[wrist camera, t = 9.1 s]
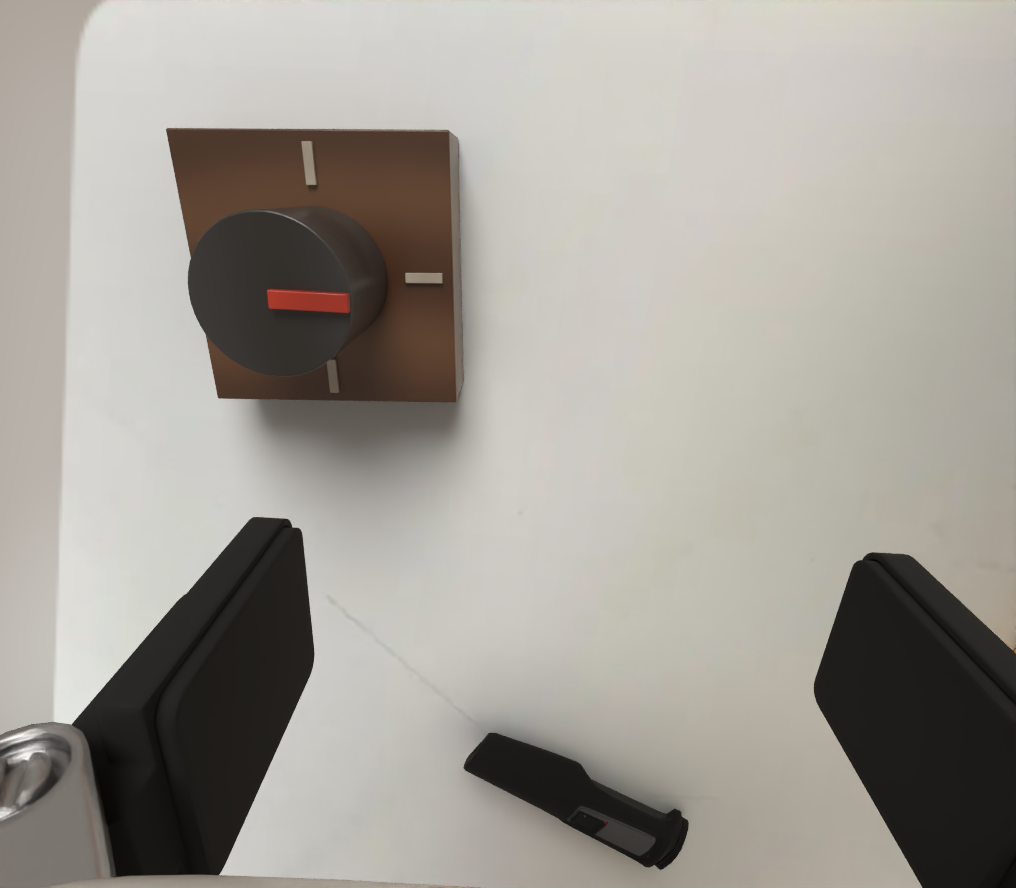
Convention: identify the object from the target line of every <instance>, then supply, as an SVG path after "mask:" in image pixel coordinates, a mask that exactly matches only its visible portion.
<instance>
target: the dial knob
mask: <svg viewBox="0 0 1016 888" xmlns="http://www.w3.org/2000/svg"><path fill="white" fill-rule="evenodd" d="M188 288H189V296H190V300H191V304H192V307H193V310H194V313H195V315H196V318H197V320H198V322H199V324H200V326H201V327H202V329H203V330H204V332H205V334H206V335H207V336H208V337H209V339H210V340H211V341H212V342H213V344H214V345H215V346H216V347H217V348H218V349H219V350H220V351H221V352H223V353H224V354H225V355H226V356H227V357H229V358H230V359H232V360H233V361H235V362H236V363H238V364H239V365H241V366H243V367H245V368H247V369H250V370H252V371H255V372H258V373H261V374H266V375H270V376H279V377H289V376H297V375H301V374H305V373H308V372H311V371H313V370H315V369H317V368H319V367H321V366H322V365H324V364H325V363H327V362H328V361H329V360H330V359H331V358H333V357H334V356H335V355H336V354H337V353H339V352H340V351H341V350H342V349H343V348H345V347H346V346H347V345H348V344H349V343H350V342H352V341H353V340H354V339H355V338H356V337H358V336H359V335H360V334H361V333H362V332H364V331H365V330H366V329H367V328H368V327H369V326H370V325H371V324H372V323H373V322H374V321H375V320H376V318H377V317H378V315H379V314H380V311H381V309H382V307H383V304H384V301H385V298H386V292H387V273H386V268H385V263H384V260H383V257H382V255H381V252H380V250H379V248H378V246H377V245H376V243H375V241H374V240H373V238H372V237H371V236H370V235H369V233H368V232H367V231H366V230H365V229H364V228H363V227H362V226H361V225H360V224H359V223H357V222H356V221H355V220H353V219H352V218H350V217H349V216H347V215H345V214H343V213H341V212H339V211H336V210H333V209H330V208H326V207H318V206H307V207H287V208H267V209H249V210H243V211H238V212H235V213H232V214H229V215H227V216H225V217H223V218H221V219H220V220H218V221H217V222H215V223H214V224H213V225H211V226H210V227H209V228H208V230H207V231H206V232H205V233H204V234H203V235H202V237H201V238H200V239H199V241H198V243H197V245H196V247H195V249H194V251H193V254H192V257H191V260H190V265H189V271H188Z"/></svg>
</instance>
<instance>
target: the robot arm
mask: <svg viewBox="0 0 1016 888" xmlns="http://www.w3.org/2000/svg"><path fill="white" fill-rule="evenodd" d="M313 662H314V644H313V634H312V625H311V615H310V605H309V595H308V585H307V575H306V566H305V556H304V546H303V537H302V532H301V530H300V529H299V528H292V524H291V522H290V521H289V520H288V519H280V518H263V517H253V518H251V519H250V520H249V521H248V522H247V523H246V525H245V526H244V527H243V528H242V529H241V531H240V532H239V533H238V534H237V535H236V536H235V538H234V539H233V540H232V541H231V542H230V543H229V545H228V546H227V547H226V548H225V549H224V550H223V552H222V553H221V554H220V555H219V556H218V558H217V559H216V560H215V561H214V562H213V563H212V565H211V566H210V567H209V568H208V569H207V570H206V572H205V573H204V574H203V575H202V576H201V578H200V579H199V580H198V581H197V582H196V583H195V585H194V586H193V587H192V588H191V589H190V590H189V592H188V593H187V594H185V595H184V596H183V597H182V598H180V599H179V600H178V601H177V602H176V604H175V605H174V606H173V607H172V608H171V609H170V611H169V612H168V613H167V614H166V615H165V616H164V618H163V619H162V620H161V621H160V622H159V623H158V624H157V626H156V627H155V628H154V629H153V630H152V631H151V633H150V634H149V635H148V636H147V637H146V638H145V640H144V641H143V642H142V643H141V644H140V645H139V647H138V648H137V649H136V650H135V651H134V652H133V654H132V655H131V656H130V657H129V658H128V659H127V661H126V662H125V663H124V664H123V665H122V666H121V668H120V669H119V670H118V671H117V672H116V673H115V675H114V676H113V677H112V678H111V679H110V680H109V682H108V683H107V684H106V685H105V686H104V687H103V689H102V690H101V691H100V692H99V693H98V694H97V696H96V697H95V698H94V699H93V700H92V701H91V703H90V704H89V705H88V706H87V707H86V708H85V710H84V711H83V712H82V713H81V714H80V715H79V717H78V718H77V719H76V720H75V721H74V722H73V724H72V725H70V724H63V723H56V722H49V723H40V724H31V725H28V726H25V727H21V728H18V729H15V730H11V731H9V732H6V733H4V734H2V735H0V888H478V887H460V886H442V885H424V884H406V883H388V882H370V881H352V880H333V879H306V878H278V877H251V876H223V875H219V874H220V873H221V871H222V869H223V867H224V865H225V863H226V861H227V859H228V857H229V855H230V852H231V850H232V848H233V846H234V843H235V841H236V839H237V837H238V835H239V832H240V830H241V828H242V826H243V823H244V821H245V819H246V817H247V815H248V812H249V810H250V808H251V806H252V803H253V801H254V799H255V797H256V794H257V792H258V790H259V788H260V786H261V783H262V781H263V779H264V777H265V774H266V772H267V770H268V768H269V766H270V763H271V761H272V759H273V757H274V754H275V752H276V750H277V748H278V746H279V743H280V741H281V739H282V737H283V734H284V732H285V730H286V728H287V726H288V723H289V721H290V719H291V717H292V714H293V712H294V710H295V708H296V706H297V703H298V701H299V699H300V697H301V694H302V692H303V690H304V688H305V686H306V683H307V681H308V679H309V677H310V674H311V671H312V668H313ZM814 694H815V698H816V702H817V704H818V706H819V708H820V710H821V711H822V713H823V715H824V717H825V718H826V720H827V722H828V724H829V725H830V727H831V729H832V730H833V732H834V734H835V736H836V737H837V739H838V741H839V743H840V744H841V746H842V748H843V750H844V751H845V753H846V755H847V757H848V758H849V760H850V762H851V764H852V765H853V767H854V769H855V771H856V772H857V774H858V776H859V778H860V779H861V781H862V783H863V785H864V786H865V788H866V790H867V792H868V793H869V795H870V797H871V799H872V800H873V802H874V804H875V806H876V807H877V809H878V811H879V813H880V814H881V816H882V818H883V820H884V821H885V823H886V825H887V827H888V828H889V830H890V832H891V833H892V835H893V837H894V839H895V840H896V842H897V844H898V846H899V847H900V849H901V851H902V853H903V854H904V856H905V858H906V860H907V861H908V863H909V865H910V867H911V868H912V870H913V872H914V874H915V875H916V877H917V879H918V881H919V882H920V884H921V886H922V888H1016V653H1015V652H1014V651H1012V650H1011V649H1010V648H1009V647H1008V646H1007V645H1006V644H1005V643H1004V642H1003V641H1002V640H1001V639H1000V638H999V637H998V636H996V635H995V634H994V633H993V632H992V631H991V630H990V629H989V628H988V627H987V626H986V625H985V624H984V623H983V622H981V621H980V620H979V619H978V618H977V617H976V616H975V615H974V614H973V613H972V612H971V611H970V610H969V609H968V608H967V607H965V606H964V605H963V604H962V603H961V602H960V601H959V600H958V599H957V598H956V597H955V596H954V595H953V594H952V593H950V592H949V591H948V590H947V589H946V588H945V587H944V586H943V585H942V584H941V583H940V582H939V581H938V580H937V579H936V578H934V577H933V576H932V575H931V574H930V573H929V572H928V571H927V570H926V569H925V568H924V567H923V566H922V565H921V564H919V563H918V562H917V561H916V560H915V559H914V558H913V557H911V556H910V555H905V554H891V553H874V552H872V553H869V554H867V555H866V556H865V557H864V558H863V560H860V561H857V562H856V563H855V564H854V565H853V567H852V570H851V573H850V576H849V579H848V582H847V585H846V588H845V591H844V594H843V597H842V600H841V603H840V606H839V609H838V612H837V615H836V618H835V621H834V624H833V627H832V630H831V633H830V636H829V639H828V642H827V645H826V648H825V651H824V654H823V657H822V660H821V663H820V666H819V669H818V672H817V675H816V678H815V682H814Z"/></svg>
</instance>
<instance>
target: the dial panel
mask: <svg viewBox="0 0 1016 888" xmlns="http://www.w3.org/2000/svg"><path fill="white" fill-rule="evenodd" d="M166 131H167V136H168V141H169V147H170V152H171V157H172V162H173V167H174V172H175V178H176V183H177V188H178V193H179V198H180V204H181V209H182V214H183V219H184V224H185V229H186V235H187V240H188V245H189V250H190V255H191V257H192V254H193V251H194V249H195V247H196V245H197V243H198V241H199V239H200V238H201V237H202V235H203V234H204V233H205V232H206V231H207V230H208V228H209V227H210V226H211V225H213V224H214V223H215V222H217V221H218V220H220V219H221V218H223V217H225V216H227V215H229V214H232V213H235V212H238V211H243V210H249V209H267V208H287V207H307V206H318V207H326V208H330V209H333V210H336V211H339V212H341V213H343V214H345V215H347V216H349V217H350V218H352V219H353V220H355V221H356V222H357V223H359V224H360V225H361V226H362V227H363V228H364V229H365V230H366V231H367V232H368V233H369V235H370V236H371V237H372V238H373V240H374V241H375V243H376V245H377V246H378V248H379V250H380V252H381V255H382V257H383V260H384V263H385V268H386V273H387V292H386V298H385V301H384V304H383V307H382V309H381V311H380V314H379V315H378V317H377V318H376V320H375V321H374V322H373V323H372V324H371V325H370V326H369V327H368V328H367V329H366V330H365V331H364V332H362V333H361V334H360V335H359V336H358V337H356V338H355V339H354V340H353V341H352V342H350V343H349V344H348V345H347V346H346V347H345V348H343V349H342V350H341V351H340V352H339V353H337V354H336V355H335V356H334V357H333V358H331V359H330V360H329V361H328V362H327V363H325V364H324V365H322V366H321V367H319V368H317V369H315V370H313V371H311V372H308V373H305V374H301V375H297V376H289V377H279V376H270V375H266V374H261V373H258V372H255V371H252V370H250V369H247V368H245V367H243V366H241V365H239V364H238V363H236V362H235V361H233V360H232V359H230V358H229V357H227V356H226V355H225V354H224V353H223V352H221V351H220V350H219V349H218V348H217V347H216V346H215V345H214V344H213V342H212V341H211V340H210V339H209V337H208V336H207V335H206V338H207V343H208V348H209V353H210V359H211V364H212V369H213V374H214V379H215V384H216V390H217V395H218V398H225V399H285V400H344V401H404V402H457V399H458V396H459V393H460V390H461V387H462V384H463V381H464V379H463V334H462V289H461V244H460V199H459V154H458V138H457V137H456V136H455V135H453V134H452V133H451V132H450V131H449V130H370V129H210V128H167V129H166Z"/></svg>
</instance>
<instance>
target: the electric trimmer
mask: <svg viewBox="0 0 1016 888" xmlns="http://www.w3.org/2000/svg"><path fill="white" fill-rule="evenodd" d="M464 769H465V770H466V771H468V772H469V773H471V774H473V775H475V776H477V777H479V778H481V779H483V780H485V781H487V782H489V783H491V784H493V785H495V786H497V787H499V788H501V789H503V790H505V791H507V792H509V793H511V794H512V795H514V796H516V797H518V798H520V799H522V800H524V801H526V802H528V803H530V804H532V805H534V806H536V807H538V808H540V809H542V810H544V811H545V812H547V813H549V814H551V815H553V816H555V817H556V818H558V819H559V820H561V821H562V822H563V823H565V824H567V825H569V826H571V827H573V828H574V829H576V830H578V831H580V832H582V833H584V834H586V835H588V836H590V837H592V838H594V839H596V840H598V841H599V842H601V843H603V844H605V845H607V846H609V847H611V848H613V849H615V850H617V851H619V852H621V853H623V854H625V855H626V856H628V857H630V858H632V859H634V860H636V861H637V862H639V863H640V864H642V865H643V866H645V867H651V866H653V865H655V866H656V867H658V868H659V869H660V870H662V869H664V868H665V867H666V866H668V865H669V864H670V863H672V862H673V860H674V859H675V858H676V857H677V855H678V854H679V852H680V851H681V849H682V846H683V844H684V841H685V838H686V835H687V831H688V824H689V823H688V820H687V819H685V818H683V817H682V815H681V811H679V810H677V809H674V810H672V811H671V812H670V813H668V814H664V813H661V812H659V811H657V810H655V809H652V808H650V807H648V806H646V805H644V804H642V803H640V802H638V801H636V800H633V799H631V798H629V797H627V796H625V795H623V794H621V793H619V792H617V791H615V790H612V789H610V788H608V787H606V786H604V785H602V784H600V783H598V782H596V781H594V780H591V779H590V778H589V776H588V775H587V773H586V772H585V770H584V768H583V767H582V766H581V764H579V763H578V762H576V761H573V760H571V759H568V758H565V757H563V756H560V755H557V754H555V753H552V752H549V751H546V750H543V749H541V748H538V747H535V746H532V745H529V744H526V743H523V742H520V741H517V740H514V739H511V738H508V737H506V736H503V735H500V734H497V733H489V734H488V735H487V736H486V737H485V738H484V739H483V741H482V742H481V743H480V744H479V745H478V746H477V747H476V748H475V749H474V750H473V752H472V753H471V754H470V755H469V756H468V758H467V760H466V762H465V764H464Z"/></svg>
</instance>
